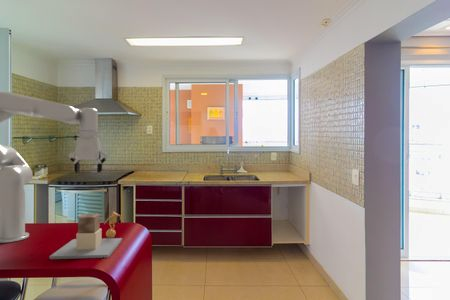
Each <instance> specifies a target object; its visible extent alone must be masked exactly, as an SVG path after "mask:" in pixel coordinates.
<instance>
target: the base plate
mask: <svg viewBox="0 0 450 300" xmlns="http://www.w3.org/2000/svg"><path fill="white" fill-rule="evenodd" d="M102 231H103V230H102V227H101V228H100V229H99V230H98V231H96V232H95V233H78V232H77V233H76V234H75V235H76V236H75V237H76V238H74V239H71V240H70V241H69V242H67V243H66V244H64V245H63V246H62V247H60V248H59V249H58V250H56V251H55V252H53V253H52V254H51V255H49V260H68V259H72V260H73V259H100V258H101V259H103V257H104V259H105V258H109V257H110V256H111V255H112V253H113V252H114V251H115V250H116V249H117V248H118V246H119V245H120V244H121V242H122V241H123V238H122V237H120V238H119V237H116V238H115V237H113V238H107V237H106V238H105V237H104V238H102V235H103V234H102V233H103V232H102Z"/></svg>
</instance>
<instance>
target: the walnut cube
mask: <svg viewBox="0 0 450 300" xmlns="http://www.w3.org/2000/svg"><path fill="white" fill-rule="evenodd" d="M100 219H101V215H100V213H84V214H82V215H80V216H78V218H77V233H95V232H96V231H98V230H99V229H100V226H101V225H100V223H101V220H100Z"/></svg>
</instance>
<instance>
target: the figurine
mask: <svg viewBox="0 0 450 300" xmlns="http://www.w3.org/2000/svg"><path fill="white" fill-rule="evenodd" d="M118 217H119V221H122V215H121V214H118V213H117V212H115V211H114V210H113V211H112V213H111V216H109V217H108V218H107V219H106V220H105V221H104V225H105V224H106V223H107V222H108V221H109V220H110V219H111V220H110V222H109V223H108V225H109V227H110V228H108V230H107V231H106V232H105V236H106V238H115V236H116V233H117V232H116V230H115V226H116V225H115V223H116V222H117V218H118Z"/></svg>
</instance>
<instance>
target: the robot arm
mask: <svg viewBox="0 0 450 300" xmlns="http://www.w3.org/2000/svg"><path fill="white" fill-rule="evenodd" d="M98 111H99V110H98V109H96V108H94V107H93V108H92V107H83V108H76V107H74V106H71V105H69V104H64V103H61V102H56V101H51V100H46V99H42V98H37V97H31V96H29V95H28V96H27V95H23V94H19V93H18V94H17V93H14V92H9V91H1V92H0V124H1V123H3V122H5V121H7V120H9V119H11V118H12V117H15V116H17V115H20V116H25V117H30V118H36V119H37V118H43V119H49V120H53V121H59V122H63V123H66V124H69V125H77V124H79V131H78V132H76V136H78V137H77V138H76V139H77V140H76V144H75V150H74V151H71V152H70V153H68V157H69V159H70V161H71V162H72V163H73V164H74V167H73V168H74V169H73V171H74V172H75V173H76V174H77V173H80V172H81V171H80V170H81V169H80V168H81V167H80V166H81V164H80V162H81V161H83V160H84V161H85V160H87V161H90V160H91V161H92V160H93V161H97V168H96V169H97V174H98V173H99V174H100V173H102V171H103V164H104V162H106V161H107V159H108V157H109V154H108V153H106V152H104V151H102V150H101V142H100V141H101V140H100V138H99V136H98V134H99V132H98V131H99V129H98V128H99V125H98V124H99V112H98ZM102 155H103V157H102ZM32 179H33V170H32V169H31V167H30V166H29V164H28V163H27V161H25V159H24V158H23V157H22V156H21V154H20V153H19V152H18V151H17V149H15V148H13V147H12V146H10V145H7V144H6V145H5V144H2V143H0V244H2V243H3V244H4V243H5V244H6V243H13V242H14V243H15V242H19V241H22V240H25V239H27V238H29V237H30V233H29V232H26V192H25V186H24V185H26V184H28V183H29V182H31V180H32Z"/></svg>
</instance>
